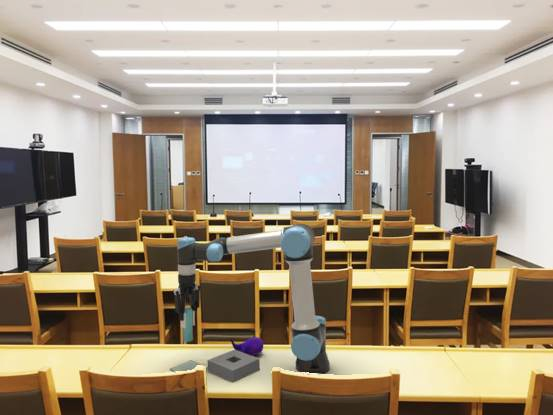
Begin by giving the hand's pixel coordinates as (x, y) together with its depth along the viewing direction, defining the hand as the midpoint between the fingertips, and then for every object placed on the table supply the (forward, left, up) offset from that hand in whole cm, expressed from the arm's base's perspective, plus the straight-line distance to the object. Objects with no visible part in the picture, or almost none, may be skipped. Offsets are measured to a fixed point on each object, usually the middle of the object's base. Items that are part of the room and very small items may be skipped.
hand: (187, 325), depth 205 cm
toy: (-8, -28, -20) cm, 35 cm away
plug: (0, 0, -6) cm, 6 cm away
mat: (0, 0, -19) cm, 19 cm away
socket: (-16, -12, -19) cm, 28 cm away
